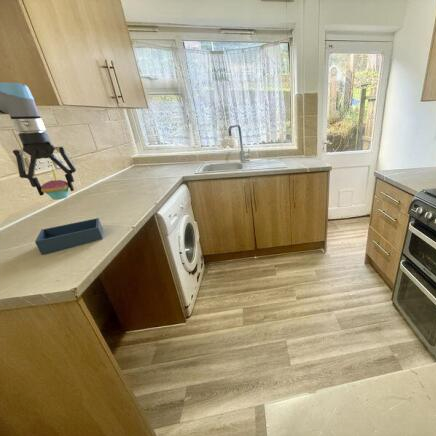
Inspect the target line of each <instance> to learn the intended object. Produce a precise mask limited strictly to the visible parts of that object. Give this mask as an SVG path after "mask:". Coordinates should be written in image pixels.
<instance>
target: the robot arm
mask: <svg viewBox="0 0 436 436" xmlns="http://www.w3.org/2000/svg"><path fill="white" fill-rule="evenodd" d="M0 115H9V117H10V120H11V122H12V124H13V126H14V128H15V131H17V132H18V135H17V136H18V137H19V140H20V142H21V144H22V148H19V149H16V148H15V149H13V150H12V153H13V154H14V156H15V158H16V164H17V169H18V170H17V171H18V175H19V178H21V179H27V180H28V181H29V183H30V186H31V187H32V188H36V190H37V192H38V194H39V196H40V197H41V196H44V194H45V193H43V192H42V191H41V186H42V185H41V183H40V181H39V178H38V177H34V176H35V171H36V165H37V161H38V160H41V159H50V160H51V161H52V162H53V163H54V164H56V166H58V167H59V168H60V169H61V170H62V171H63V172H64V173H65V174H64V177H65V180H66V182H67V183H68V185H69V190H70V192H74V191H75V188H74V185H73V183H74V182H75V179H74V176H73V174H74V173H76V171H77V169H76V166H75V165H74V164H73V162H72V161H71V159H70V158H69V156H68V155H67V153H66V149H65V147H64V146H54V145H53V144H52V142H51V141H52V140H51V139H50V136H49V134H48V132H46V126H45V124H44V121H43V119H42V117H41V115H40V113H39V110H38V107H37V103H36V102H35V98H34V96H33V94H32V92H31V90H30V88H29V87H28V85H26V84H25V83H20V82H18V83H17V82H0ZM54 151H57V153H59V154H60V156H61V158H62V159H63V160H64V162H65V163H66V165H67V166H68V167H67V166H66V165H65V164H64V163H63V162H62V161H61V160H59V159H58V158H57V156H56V155H55V154H54ZM25 153H26V154H27V155H29V156H30V159H29V166H28V172H26V167H25V165H26V164H25V162H24V161H25V160H24V155H25Z"/></svg>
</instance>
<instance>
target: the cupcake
mask: <svg viewBox="0 0 436 436" xmlns="http://www.w3.org/2000/svg"><path fill="white" fill-rule="evenodd" d="M51 171H52V174H53V178H54V180H53V179H52V180H48V181H47V182H45V183H43V184H42V185H41V191H42V192H43V193H44V194H46V195H48V196H49V197H50V198H51V199H52V200H54V201H58V200H63V199H67V198H68V197H69V189H70V187H69V185H68V182H67V180H66V181H65V180H62V179H58V177H57V174H56V171H55V168H54V166H52V168H51Z"/></svg>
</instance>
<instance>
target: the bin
mask: <svg viewBox="0 0 436 436" xmlns="http://www.w3.org/2000/svg"><path fill="white" fill-rule="evenodd" d="M103 231H104V228H103V225H102V223H101V220H100V218H99V217H96V218H92V219H91V218H90V219H87V220H82V221H76V222H73V223H67V224H63V225H62V224H61V225H57V226H53V227H52V226H51V227H48V228H43V229H40V232H39V233H38V235H37V237H36V239H35V240H34V243H35V245H36V246H37V249H38V251H39V252H40V255H46V254H51V253H55V252H57V251H63V250H67V249H71V248H75V247H79V246H83V245H86V244H91V243H94V242H98V241H102V240H103V239H104V238H103V237H104V235H103V234H104V232H103Z"/></svg>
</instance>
